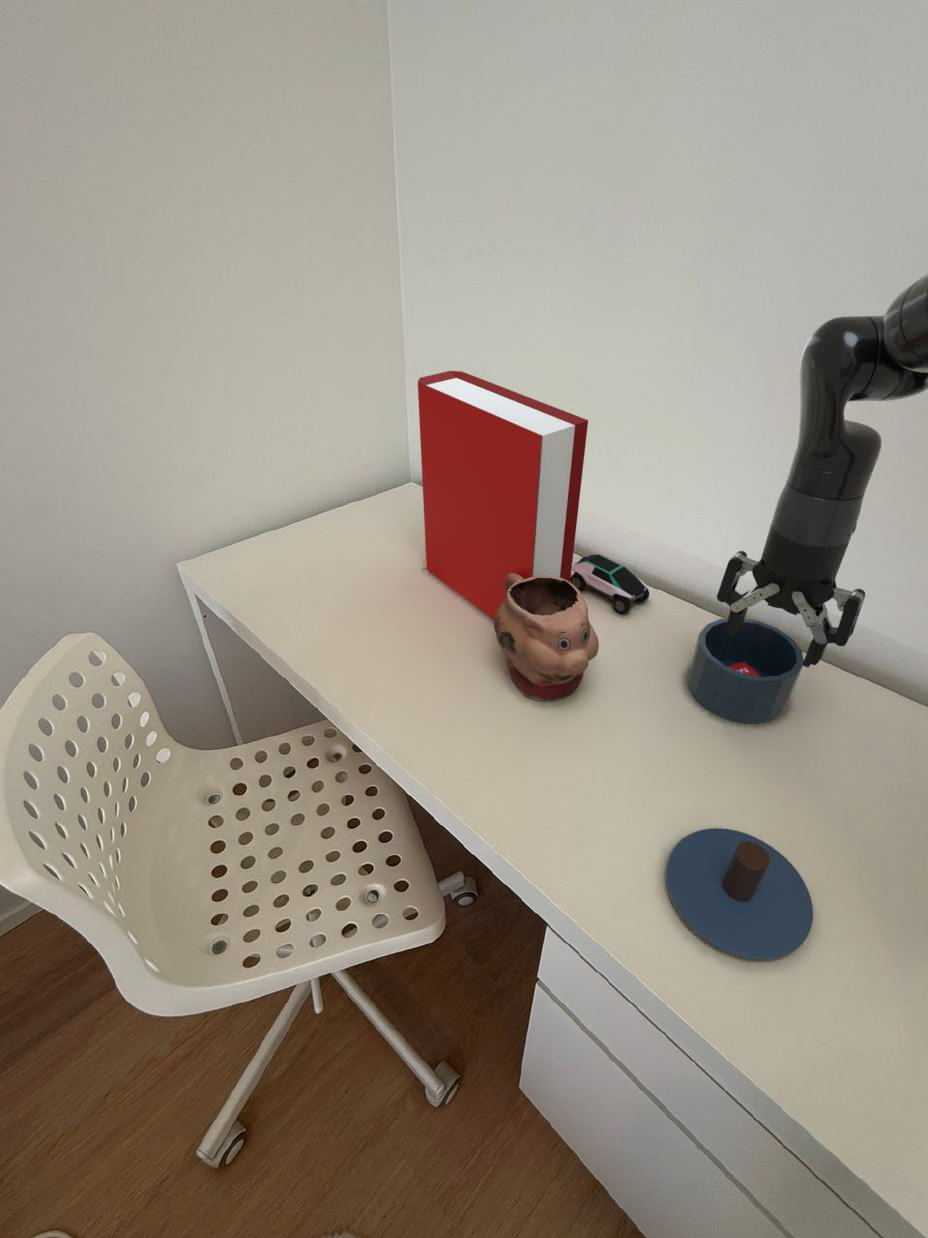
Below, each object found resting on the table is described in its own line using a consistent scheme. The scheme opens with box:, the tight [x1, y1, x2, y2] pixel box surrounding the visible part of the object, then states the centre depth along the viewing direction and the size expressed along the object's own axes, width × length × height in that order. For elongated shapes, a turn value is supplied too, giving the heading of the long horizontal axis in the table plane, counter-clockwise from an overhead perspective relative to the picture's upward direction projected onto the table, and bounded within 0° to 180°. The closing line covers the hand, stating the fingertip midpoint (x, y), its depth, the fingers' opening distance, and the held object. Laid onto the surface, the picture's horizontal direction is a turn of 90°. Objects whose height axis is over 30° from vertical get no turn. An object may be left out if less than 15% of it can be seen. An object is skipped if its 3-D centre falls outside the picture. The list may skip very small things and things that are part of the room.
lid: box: [665, 827, 814, 962], centre depth 62 cm, size 14×14×7 cm
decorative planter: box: [493, 573, 600, 701], centre depth 87 cm, size 20×12×14 cm, turn 30°
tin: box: [687, 617, 805, 725], centre depth 85 cm, size 13×13×8 cm
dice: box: [729, 662, 760, 676], centre depth 86 cm, size 3×3×3 cm
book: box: [417, 370, 589, 621], centre depth 97 cm, size 27×8×32 cm, turn 37°
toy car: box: [570, 554, 650, 615], centre depth 104 cm, size 6×12×5 cm, turn 42°
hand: (770, 648), depth 76 cm, fingers open, 8 cm apart
